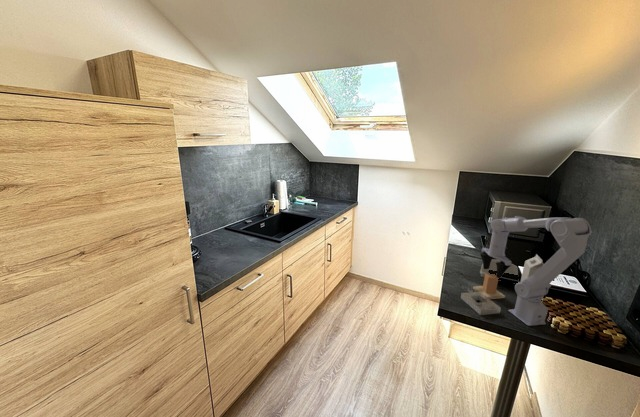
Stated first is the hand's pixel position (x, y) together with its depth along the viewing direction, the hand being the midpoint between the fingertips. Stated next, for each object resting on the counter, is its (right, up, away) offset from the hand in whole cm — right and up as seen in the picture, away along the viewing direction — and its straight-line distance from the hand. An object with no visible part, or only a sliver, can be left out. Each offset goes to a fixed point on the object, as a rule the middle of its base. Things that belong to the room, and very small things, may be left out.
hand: (492, 272), depth 120 cm
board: (0, -10, +3) cm, 10 cm away
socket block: (-10, -12, -7) cm, 17 cm away
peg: (0, -9, +2) cm, 9 cm away
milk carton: (+18, -11, +1) cm, 21 cm away
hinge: (+14, -7, +18) cm, 24 cm away
